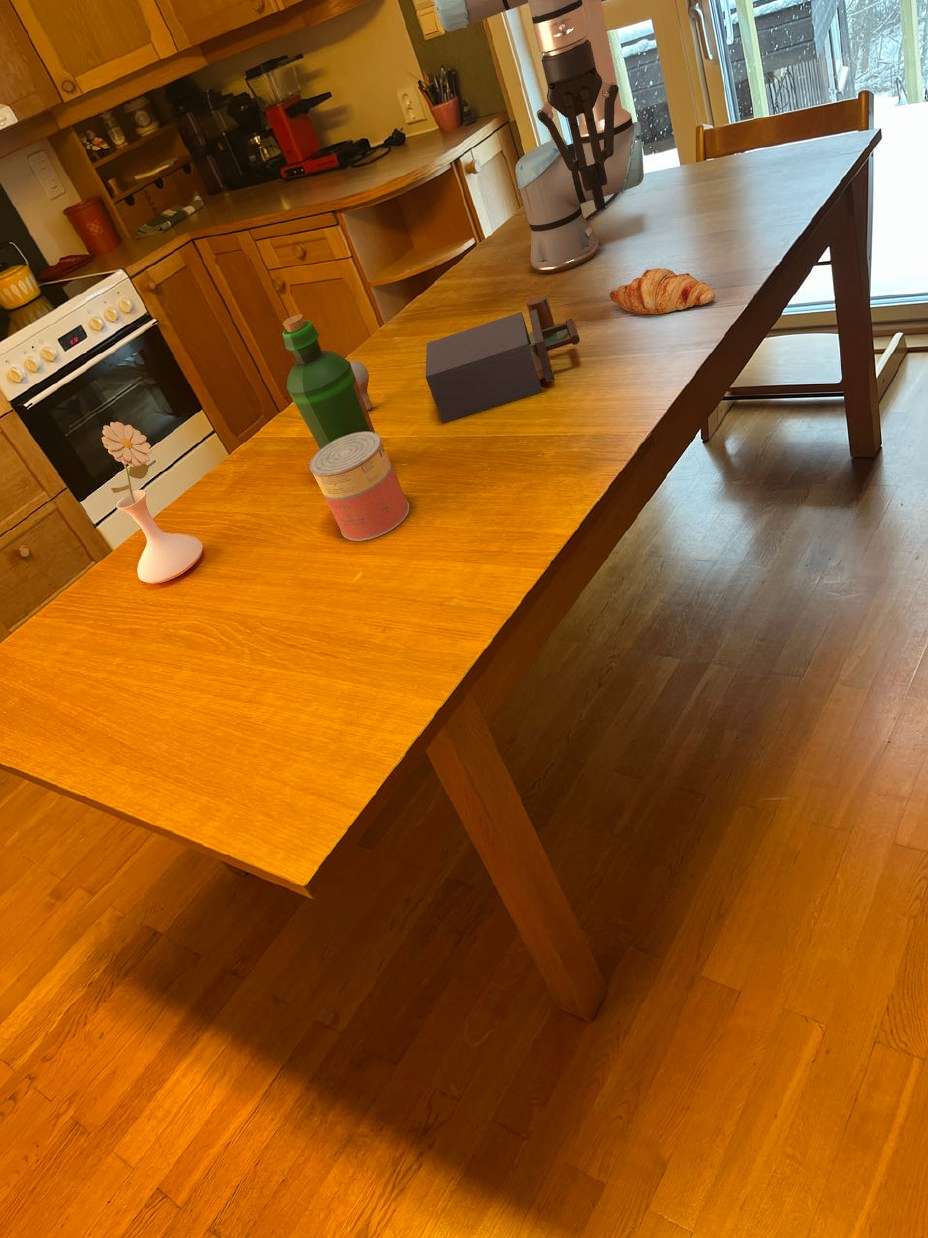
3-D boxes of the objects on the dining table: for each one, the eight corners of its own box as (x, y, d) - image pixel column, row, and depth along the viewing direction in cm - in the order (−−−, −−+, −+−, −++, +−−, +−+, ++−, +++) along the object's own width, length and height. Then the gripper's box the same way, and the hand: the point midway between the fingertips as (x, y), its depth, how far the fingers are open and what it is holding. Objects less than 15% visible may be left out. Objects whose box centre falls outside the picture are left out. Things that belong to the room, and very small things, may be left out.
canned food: (423, 503, 137) (395, 435, 130) (373, 546, 132) (341, 478, 125) (376, 492, 145) (347, 428, 138) (327, 533, 140) (294, 468, 133)
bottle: (402, 454, 152) (336, 297, 136) (379, 491, 145) (307, 329, 128) (349, 462, 157) (279, 310, 140) (324, 497, 150) (247, 341, 133)
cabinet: (535, 357, 165) (521, 311, 160) (542, 391, 153) (528, 343, 148) (442, 387, 168) (426, 342, 163) (442, 423, 157) (425, 376, 151)
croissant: (725, 314, 161) (729, 266, 159) (700, 312, 154) (704, 262, 151) (622, 315, 174) (624, 271, 172) (594, 314, 167) (596, 268, 164)
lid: (523, 336, 175) (512, 298, 170) (567, 321, 173) (557, 283, 169) (526, 353, 168) (515, 315, 163) (572, 338, 166) (562, 299, 162)
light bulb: (386, 401, 172) (366, 353, 166) (373, 416, 168) (353, 367, 163) (363, 403, 175) (343, 356, 169) (350, 418, 171) (329, 371, 165)
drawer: (577, 336, 163) (567, 298, 159) (588, 369, 151) (577, 329, 147) (452, 377, 167) (439, 341, 163) (452, 411, 156) (439, 374, 151)
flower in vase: (174, 593, 141) (84, 458, 126) (130, 586, 148) (40, 457, 133) (227, 542, 149) (148, 409, 134) (183, 538, 155) (103, 410, 140)
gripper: (524, 66, 131) (564, 227, 145) (611, 32, 129) (643, 200, 143) (520, 59, 137) (559, 215, 151) (604, 27, 135) (635, 188, 149)
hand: (600, 207), depth 147 cm, fingers closed
